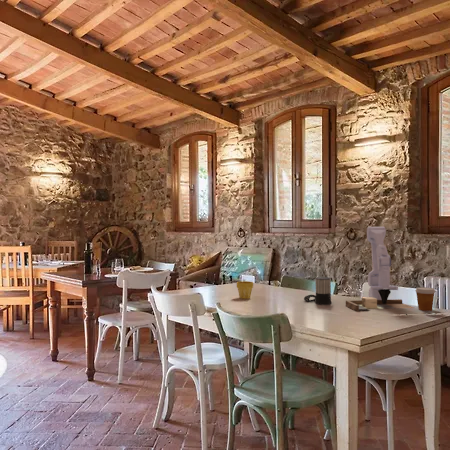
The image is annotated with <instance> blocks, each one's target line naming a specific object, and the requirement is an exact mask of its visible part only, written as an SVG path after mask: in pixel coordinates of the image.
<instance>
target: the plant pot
mask: <svg viewBox="0 0 450 450" xmlns="http://www.w3.org/2000/svg"><path fill="white" fill-rule="evenodd" d="M236 288H237V291H238V297H239V299H241V300H242V299H243V300H246V299H251V296H252V290H253V288H254V282H253V281H245V280H242V281H237V282H236Z"/></svg>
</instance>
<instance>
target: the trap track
mask: <svg viewBox="0 0 450 450" xmlns="http://www.w3.org/2000/svg"><path fill="white" fill-rule="evenodd" d="M345 307H347V308H349V309H351V310H353V311H354V312H371V310H386V309H388V310H389V309H390V310H391V309H392V310H393V309H415V307H413V306H411V305H408V304H405V303H403V299H399V298H398V299H387V303H386V304H383V303H382V300H377V307H373V308H366V307H364V306H362V299H356V300H345Z"/></svg>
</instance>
